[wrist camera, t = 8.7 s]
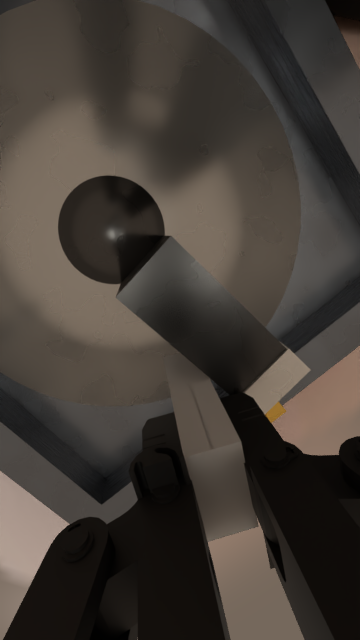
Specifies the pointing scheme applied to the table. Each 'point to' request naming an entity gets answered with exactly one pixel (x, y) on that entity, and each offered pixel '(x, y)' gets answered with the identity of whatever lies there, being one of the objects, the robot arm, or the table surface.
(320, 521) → the robot arm
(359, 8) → the coffee jar
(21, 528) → the table surface
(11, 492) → the table surface
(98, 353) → the dial
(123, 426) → the grey square tray
